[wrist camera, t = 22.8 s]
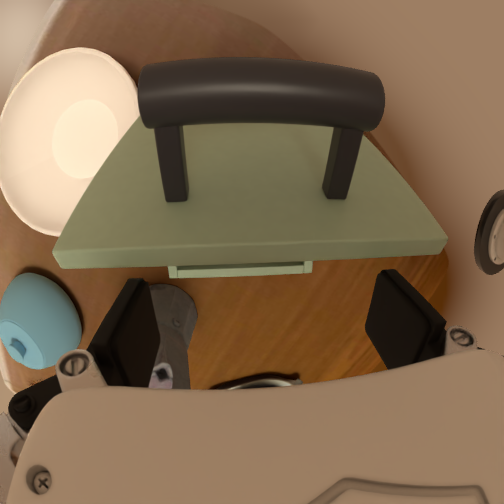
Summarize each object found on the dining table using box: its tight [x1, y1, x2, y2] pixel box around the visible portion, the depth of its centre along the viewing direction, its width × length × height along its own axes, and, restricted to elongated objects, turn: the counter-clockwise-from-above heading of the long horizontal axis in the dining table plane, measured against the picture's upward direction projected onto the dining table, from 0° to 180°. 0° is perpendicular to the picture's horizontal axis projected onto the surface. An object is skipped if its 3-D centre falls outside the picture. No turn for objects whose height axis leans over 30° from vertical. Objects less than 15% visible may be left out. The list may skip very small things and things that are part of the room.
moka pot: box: [148, 284, 197, 390], centre depth 27 cm, size 10×15×20 cm, turn 154°
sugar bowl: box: [0, 273, 82, 369], centre depth 30 cm, size 15×15×12 cm
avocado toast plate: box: [215, 375, 303, 390], centre depth 45 cm, size 19×18×5 cm
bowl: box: [0, 47, 140, 236], centre depth 23 cm, size 20×20×7 cm
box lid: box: [52, 57, 448, 269], centre depth 11 cm, size 15×13×5 cm
